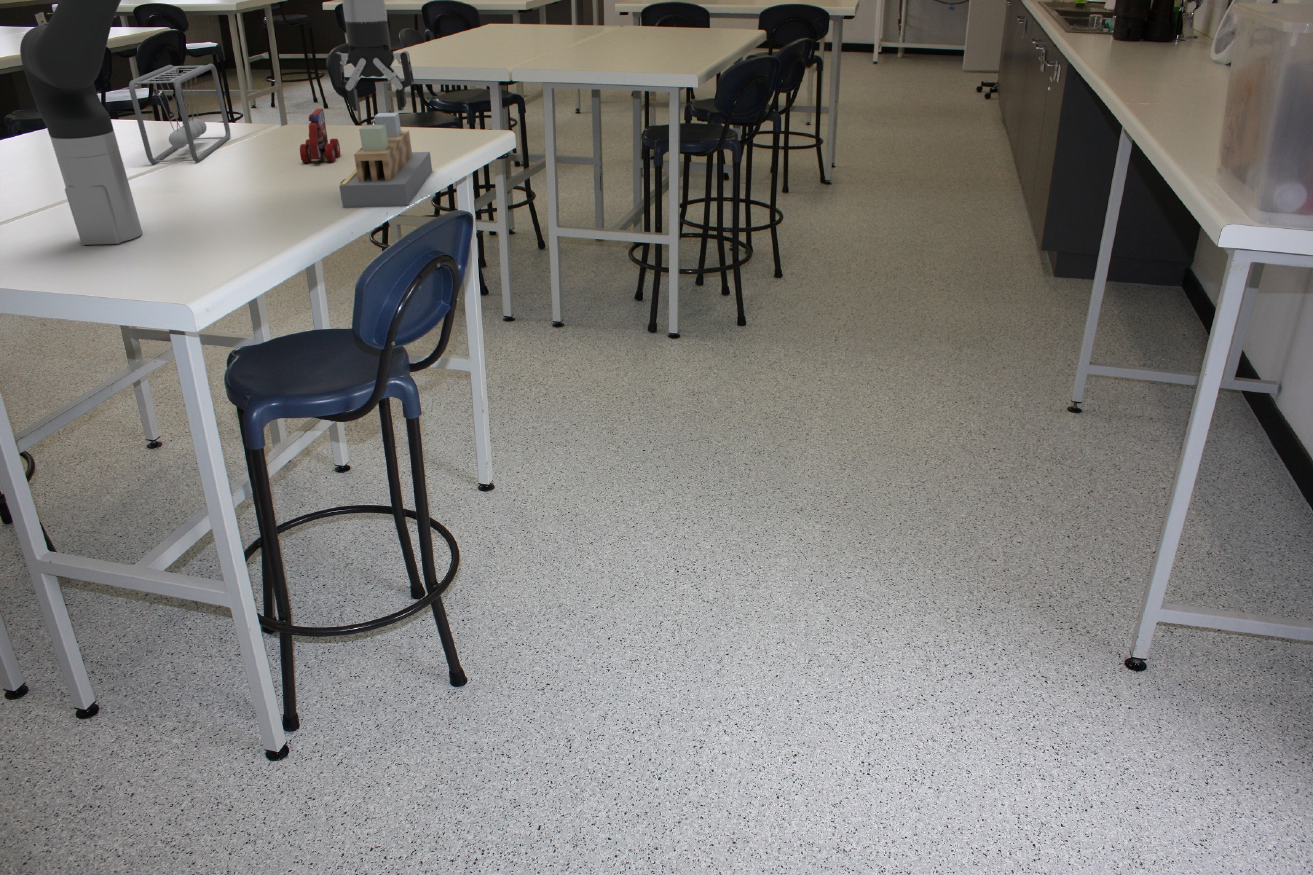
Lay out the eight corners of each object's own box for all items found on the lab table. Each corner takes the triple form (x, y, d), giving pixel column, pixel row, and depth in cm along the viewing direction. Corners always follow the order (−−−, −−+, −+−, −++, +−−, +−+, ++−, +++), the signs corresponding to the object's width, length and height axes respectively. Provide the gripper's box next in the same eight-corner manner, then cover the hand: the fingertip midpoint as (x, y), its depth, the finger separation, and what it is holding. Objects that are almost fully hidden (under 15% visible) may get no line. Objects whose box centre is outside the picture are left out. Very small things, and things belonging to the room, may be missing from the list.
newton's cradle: (197, 164, 211) (177, 80, 202) (148, 166, 210) (126, 82, 201) (232, 138, 237) (215, 62, 228) (188, 139, 236) (170, 63, 227)
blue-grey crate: (397, 137, 188) (394, 116, 187) (377, 137, 188) (374, 116, 186) (401, 133, 192) (398, 112, 190) (381, 133, 192) (378, 113, 190)
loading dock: (407, 205, 177) (404, 183, 175) (337, 207, 177) (333, 184, 175) (432, 171, 202) (429, 151, 199) (370, 172, 201) (367, 152, 199)
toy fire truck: (299, 167, 207) (290, 117, 202) (312, 154, 218) (303, 107, 213) (332, 165, 208) (323, 116, 203) (343, 153, 219) (335, 106, 214)
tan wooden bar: (390, 180, 177) (386, 153, 175) (358, 181, 177) (354, 154, 175) (412, 155, 197) (408, 130, 194) (383, 156, 197) (379, 131, 194)
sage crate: (384, 150, 177) (380, 128, 176) (362, 151, 177) (359, 129, 175) (388, 146, 181) (385, 124, 179) (367, 146, 181) (364, 125, 179)
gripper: (321, 20, 171) (336, 114, 178) (400, 19, 171) (412, 113, 179) (332, 17, 177) (346, 107, 185) (408, 16, 178) (419, 106, 185)
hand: (378, 110), depth 182 cm, fingers open, 8 cm apart
